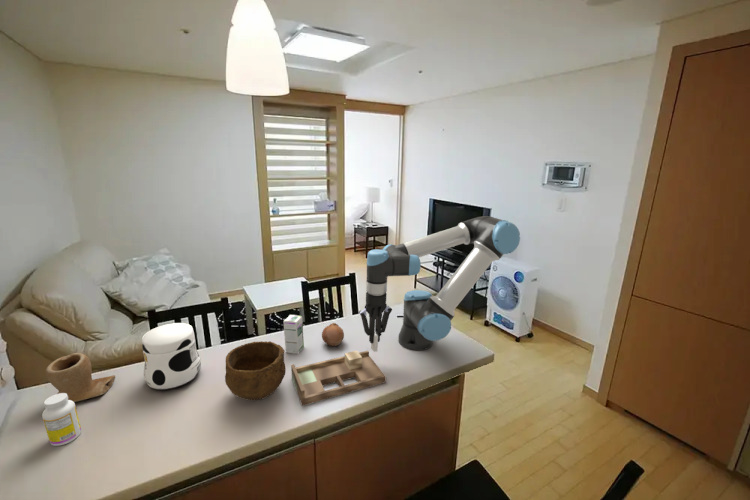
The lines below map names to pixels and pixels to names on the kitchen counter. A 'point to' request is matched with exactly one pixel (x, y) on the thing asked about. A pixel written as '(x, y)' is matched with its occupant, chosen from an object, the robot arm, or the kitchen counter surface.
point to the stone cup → (76, 378)
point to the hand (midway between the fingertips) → (374, 349)
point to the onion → (333, 335)
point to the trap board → (334, 378)
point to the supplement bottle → (61, 419)
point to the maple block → (353, 360)
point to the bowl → (255, 370)
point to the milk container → (170, 356)
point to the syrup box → (293, 334)
